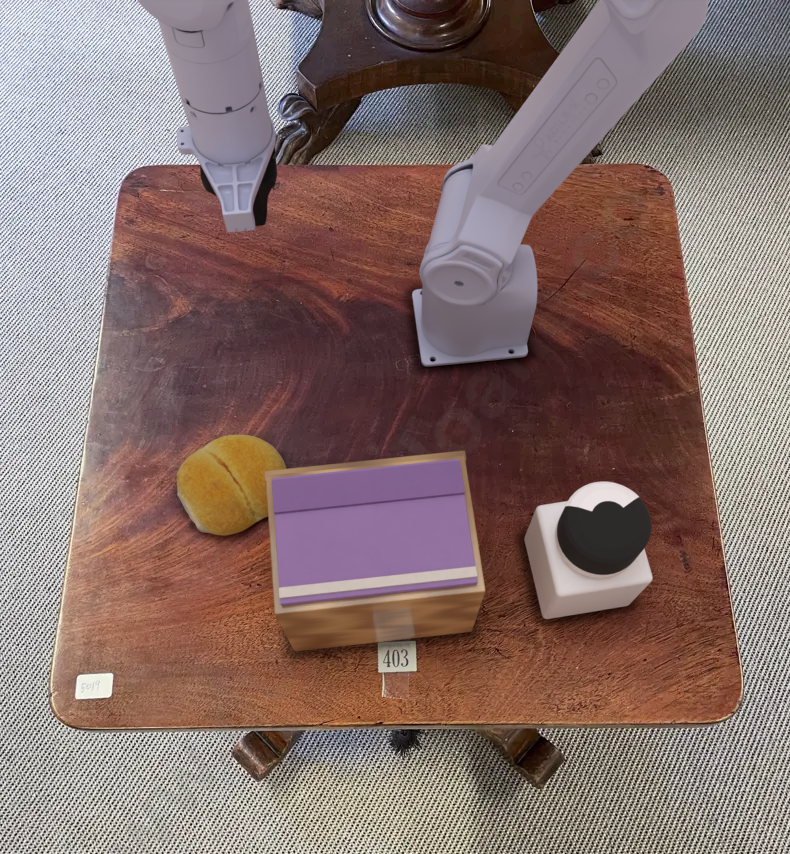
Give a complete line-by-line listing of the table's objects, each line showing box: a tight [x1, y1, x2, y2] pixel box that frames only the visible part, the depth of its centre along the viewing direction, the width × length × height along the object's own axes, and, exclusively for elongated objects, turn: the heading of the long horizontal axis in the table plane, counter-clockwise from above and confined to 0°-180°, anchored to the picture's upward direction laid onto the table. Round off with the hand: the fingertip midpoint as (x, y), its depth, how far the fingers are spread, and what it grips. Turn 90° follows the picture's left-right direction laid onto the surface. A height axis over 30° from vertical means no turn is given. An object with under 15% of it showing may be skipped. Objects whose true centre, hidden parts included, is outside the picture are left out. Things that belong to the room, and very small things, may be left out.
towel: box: [272, 459, 478, 606], centre depth 58 cm, size 13×9×1 cm
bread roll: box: [176, 434, 287, 536], centre depth 70 cm, size 8×9×4 cm
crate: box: [264, 450, 486, 652], centre depth 64 cm, size 14×10×12 cm
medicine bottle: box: [524, 481, 654, 620], centre depth 64 cm, size 7×7×12 cm
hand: (252, 219), depth 70 cm, fingers closed
